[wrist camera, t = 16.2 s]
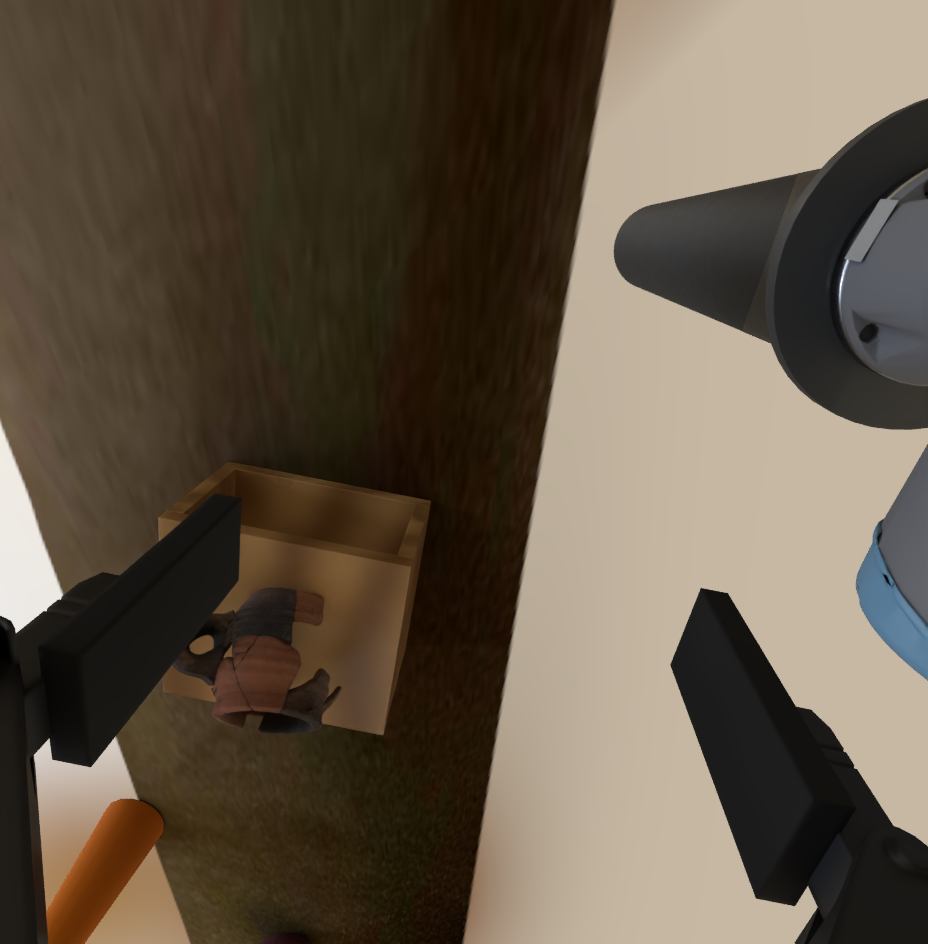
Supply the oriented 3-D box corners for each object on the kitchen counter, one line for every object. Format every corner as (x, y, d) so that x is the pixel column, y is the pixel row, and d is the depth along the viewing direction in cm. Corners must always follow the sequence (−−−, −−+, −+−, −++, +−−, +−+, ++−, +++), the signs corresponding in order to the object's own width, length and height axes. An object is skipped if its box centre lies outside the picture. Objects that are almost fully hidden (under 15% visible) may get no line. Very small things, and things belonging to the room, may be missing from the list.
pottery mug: (367, 599, 43) (349, 718, 38) (332, 640, 49) (313, 746, 44) (194, 558, 39) (148, 685, 34) (182, 609, 46) (143, 721, 41)
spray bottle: (131, 769, 67) (-90, 1077, 42) (176, 834, 70) (-3, 1152, 46) (79, 779, 68) (-163, 1084, 44) (126, 842, 71) (-74, 1156, 47)
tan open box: (431, 500, 51) (411, 566, 41) (406, 646, 57) (383, 735, 47) (228, 460, 51) (158, 517, 41) (225, 610, 57) (162, 692, 47)
